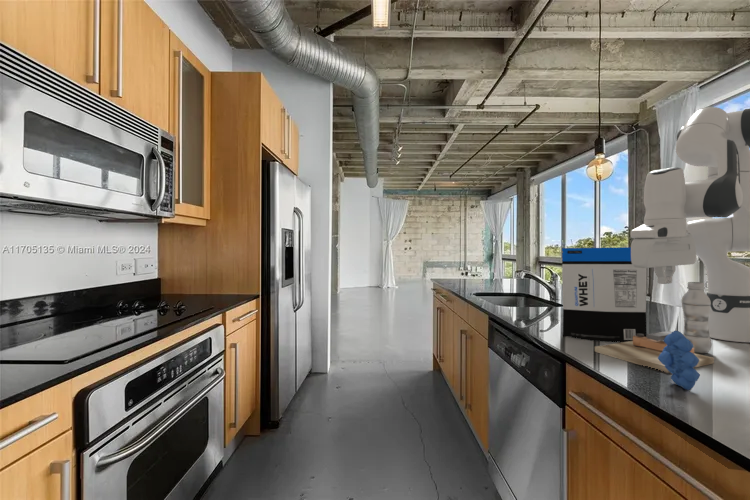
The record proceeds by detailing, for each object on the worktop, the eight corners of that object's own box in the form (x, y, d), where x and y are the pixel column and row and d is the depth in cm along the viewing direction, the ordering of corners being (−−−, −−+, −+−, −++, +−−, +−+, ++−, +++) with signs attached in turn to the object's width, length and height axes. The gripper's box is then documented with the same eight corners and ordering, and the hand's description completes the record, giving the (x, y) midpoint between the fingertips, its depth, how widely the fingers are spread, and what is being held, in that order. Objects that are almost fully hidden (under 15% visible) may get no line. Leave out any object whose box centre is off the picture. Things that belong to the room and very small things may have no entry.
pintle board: (637, 344, 119) (637, 324, 119) (713, 363, 100) (713, 339, 100) (594, 351, 113) (594, 330, 112) (667, 372, 94) (667, 347, 94)
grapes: (646, 375, 92) (646, 325, 92) (679, 377, 91) (678, 326, 90) (670, 394, 81) (670, 337, 81) (708, 397, 79) (708, 339, 79)
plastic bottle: (717, 356, 106) (717, 283, 106) (689, 355, 108) (689, 283, 107) (702, 349, 113) (702, 281, 112) (676, 348, 114) (676, 281, 114)
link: (629, 344, 113) (629, 336, 113) (638, 342, 114) (638, 335, 114) (689, 358, 99) (689, 349, 99) (697, 356, 100) (697, 347, 100)
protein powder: (651, 344, 119) (651, 247, 119) (564, 339, 127) (564, 248, 126) (641, 337, 128) (641, 247, 127) (561, 332, 136) (560, 247, 135)
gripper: (677, 230, 107) (677, 279, 107) (625, 231, 100) (626, 284, 100) (703, 229, 101) (704, 281, 101) (650, 231, 94) (650, 287, 94)
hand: (664, 283), depth 101 cm, fingers closed
